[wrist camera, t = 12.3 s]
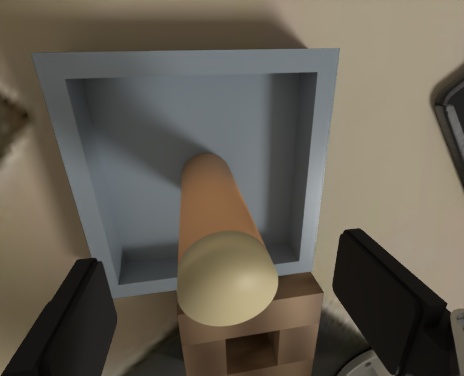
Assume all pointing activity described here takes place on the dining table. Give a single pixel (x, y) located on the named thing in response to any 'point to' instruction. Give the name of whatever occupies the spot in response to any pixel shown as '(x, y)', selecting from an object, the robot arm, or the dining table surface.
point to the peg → (220, 248)
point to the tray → (189, 147)
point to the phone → (453, 120)
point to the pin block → (259, 336)
